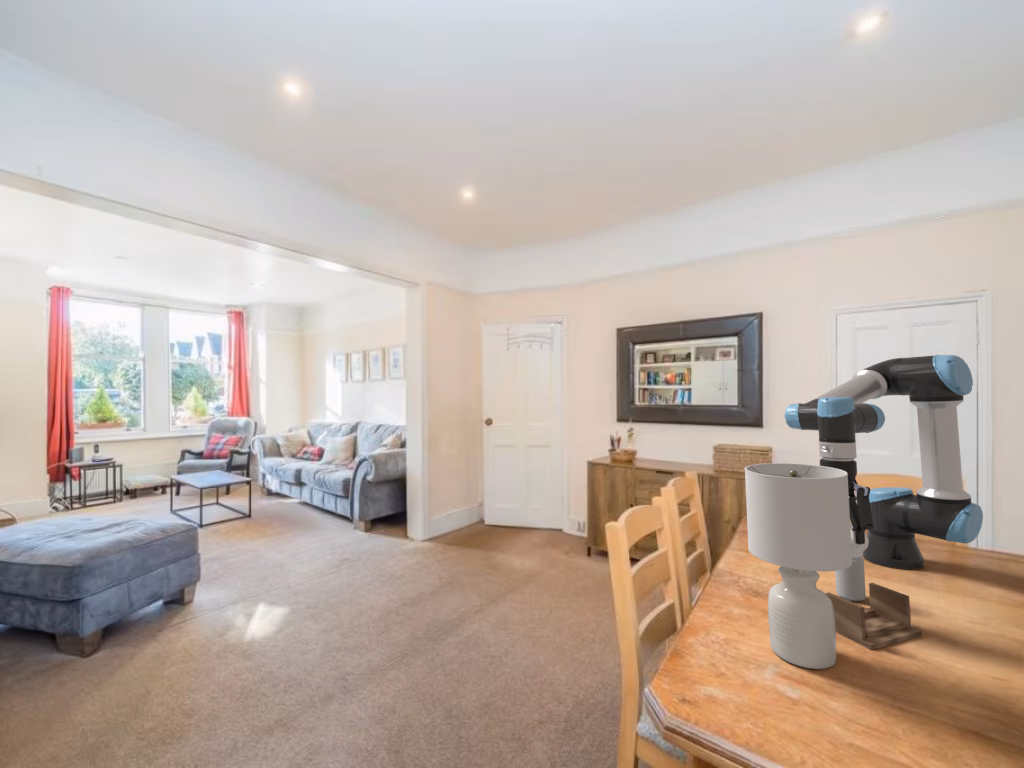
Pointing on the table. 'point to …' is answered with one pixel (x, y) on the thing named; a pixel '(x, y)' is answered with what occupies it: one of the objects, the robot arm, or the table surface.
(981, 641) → the table surface
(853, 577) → the beverage can
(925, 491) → the robot arm
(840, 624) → the holder
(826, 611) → the lamp
